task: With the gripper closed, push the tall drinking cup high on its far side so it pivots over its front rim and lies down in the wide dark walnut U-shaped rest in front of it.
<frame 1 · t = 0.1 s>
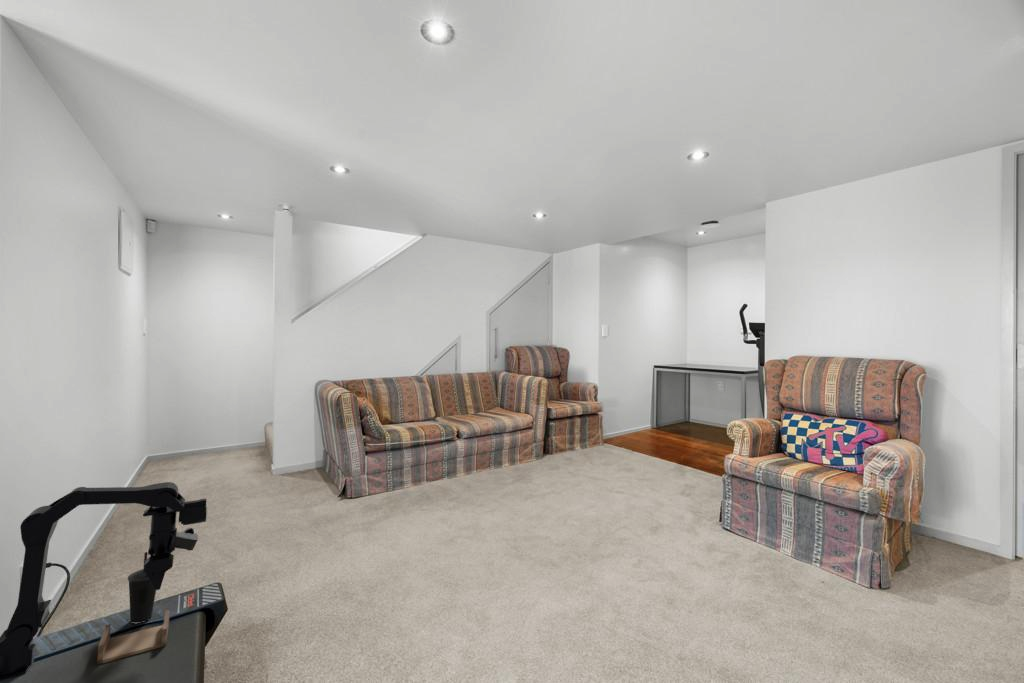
hand: (159, 582, 125), 15 cm above the table, tool pointing down, fingers open, 9 cm apart
drinking cup: (141, 620, 130), on the table
cup rest: (135, 644, 120), on the table
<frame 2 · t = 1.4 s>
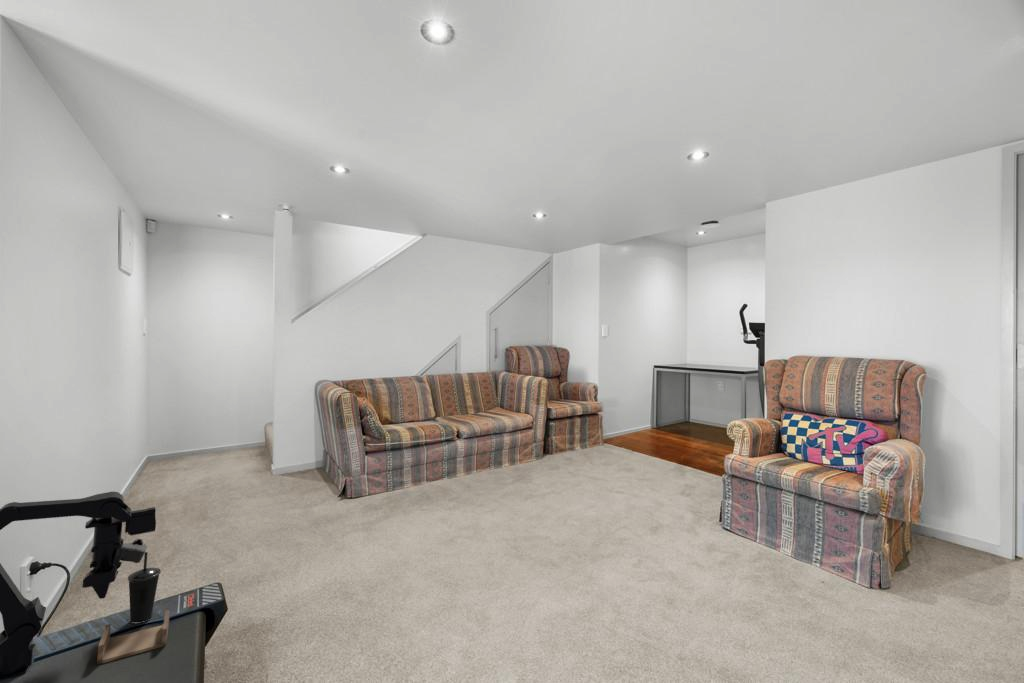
hand: (103, 596, 120), 13 cm above the table, tool pointing down, fingers closed
nothing on the table moved.
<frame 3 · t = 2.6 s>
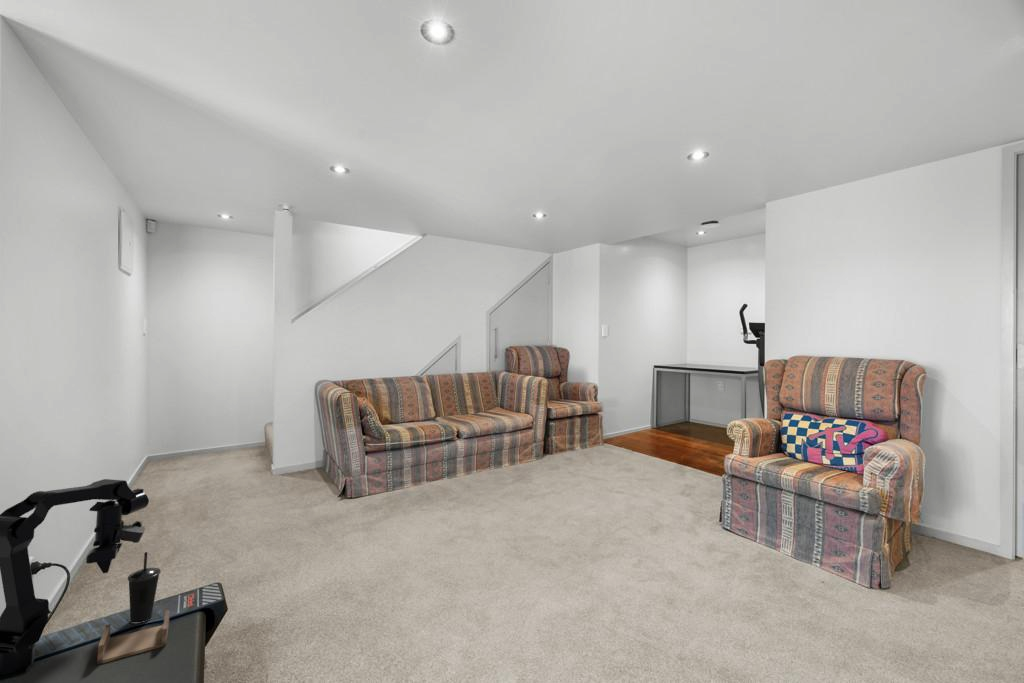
hand: (105, 572, 131), 13 cm above the table, tool pointing down, fingers closed
nothing on the table moved.
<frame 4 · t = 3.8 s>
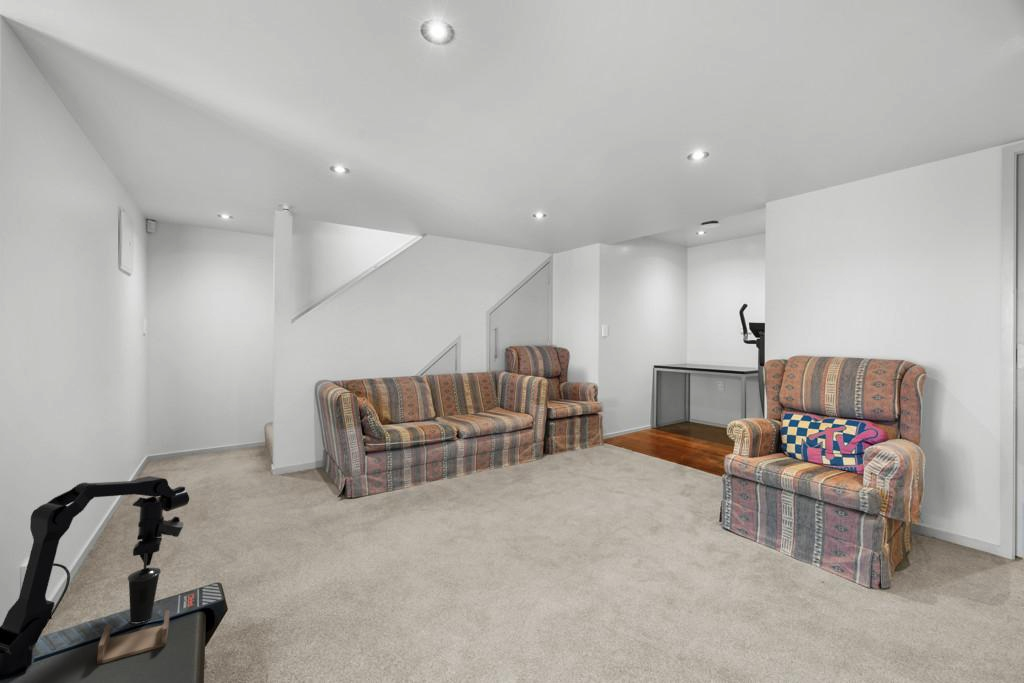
hand: (147, 565, 139), 12 cm above the table, tool pointing down, fingers closed
nothing on the table moved.
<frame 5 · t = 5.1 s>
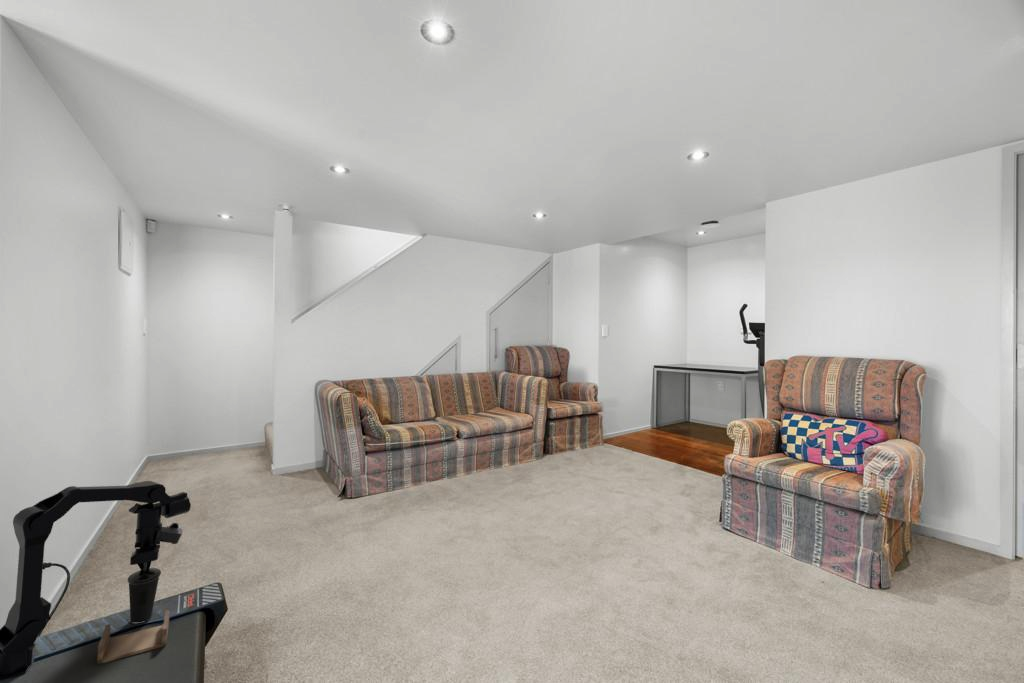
hand: (145, 573, 133), 12 cm above the table, tool pointing down, fingers closed
drinking cup: (141, 619, 130), on the table, touching gripper
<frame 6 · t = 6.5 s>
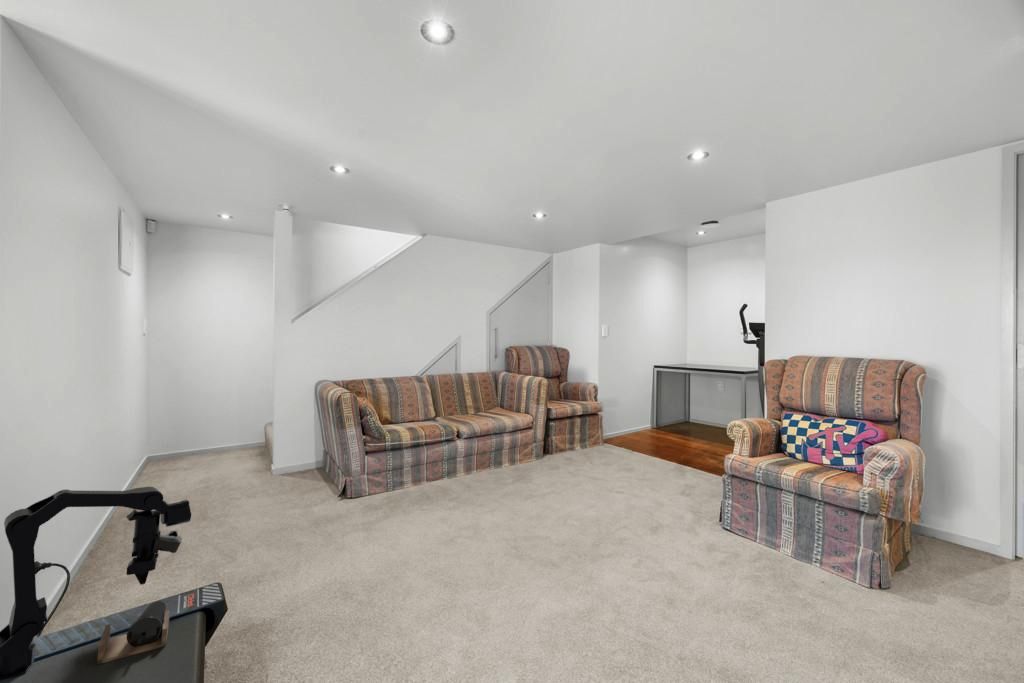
hand: (143, 583, 128), 12 cm above the table, tool pointing down, fingers closed
drinking cup: (156, 609, 131), point 3 cm above the table, touching cup rest
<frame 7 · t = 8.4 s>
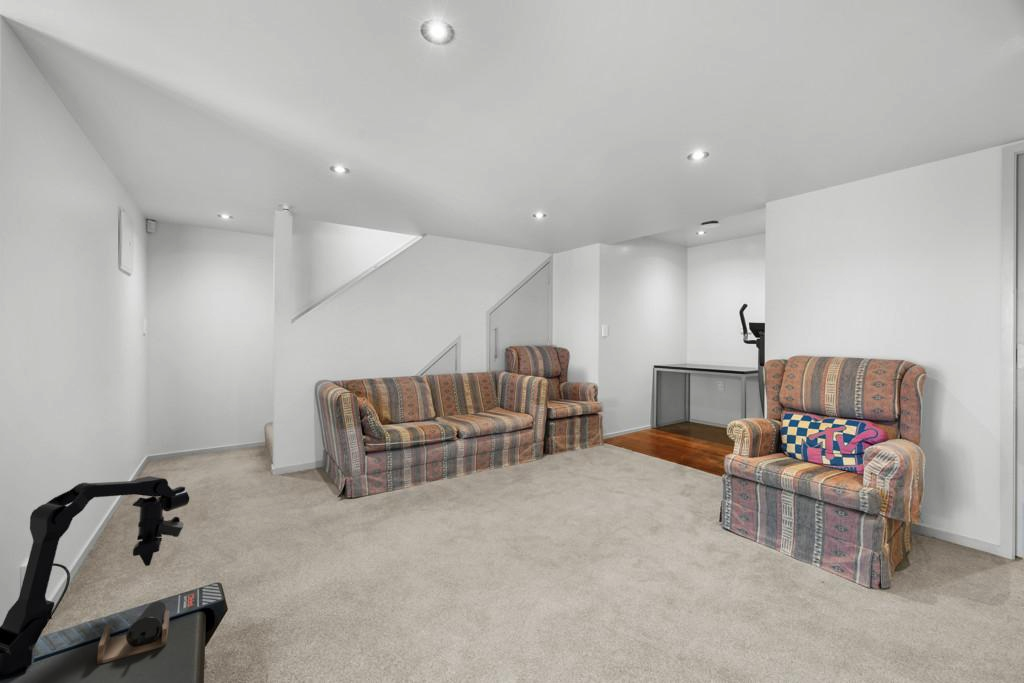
hand: (147, 565, 139), 12 cm above the table, tool pointing down, fingers closed
nothing on the table moved.
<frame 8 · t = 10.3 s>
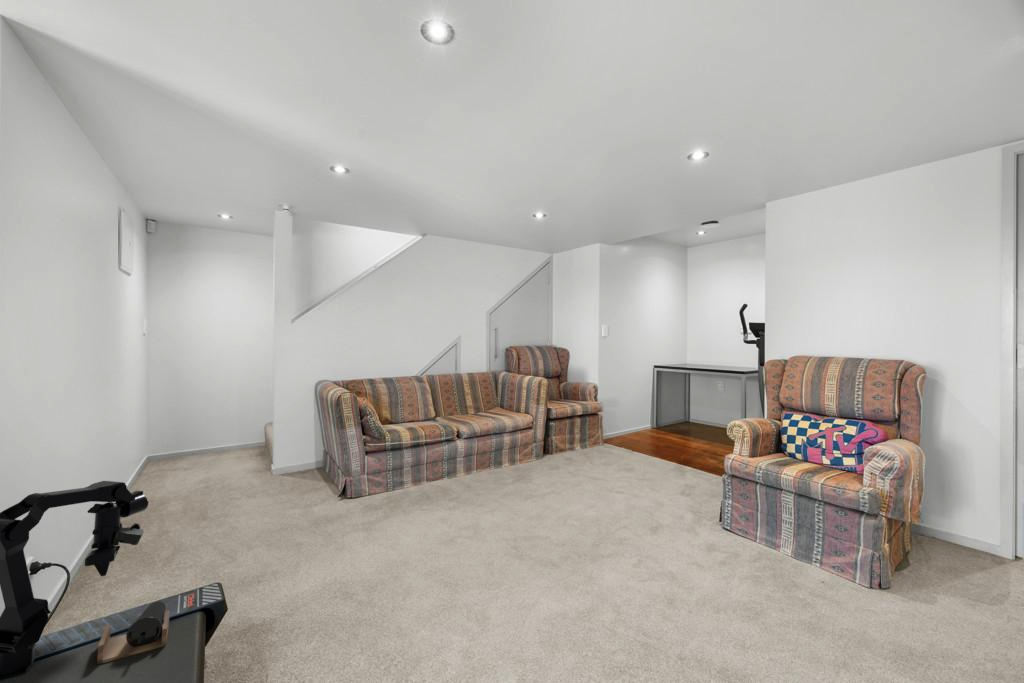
hand: (103, 575, 130), 13 cm above the table, tool pointing down, fingers closed
nothing on the table moved.
at the end: drinking cup tilted 85°; drinking cup touching cup rest; drinking cup inside the target area on the table beside the cup rest (4.5 cm from its centre), point 2.9 cm above the table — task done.
